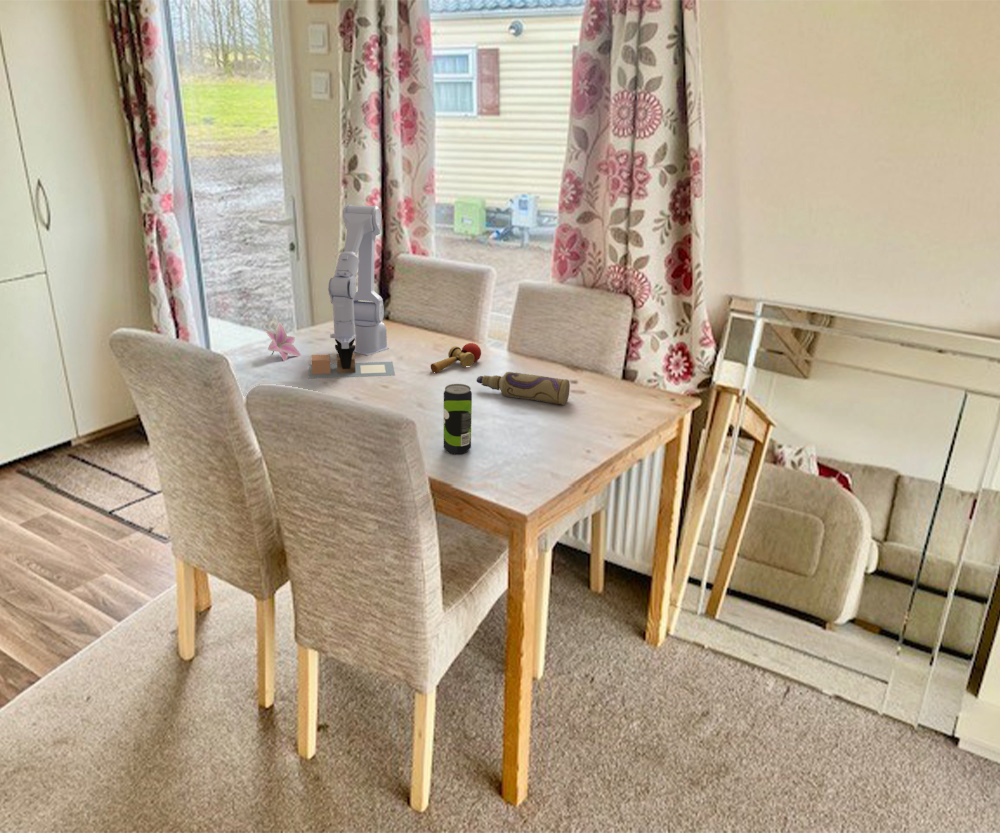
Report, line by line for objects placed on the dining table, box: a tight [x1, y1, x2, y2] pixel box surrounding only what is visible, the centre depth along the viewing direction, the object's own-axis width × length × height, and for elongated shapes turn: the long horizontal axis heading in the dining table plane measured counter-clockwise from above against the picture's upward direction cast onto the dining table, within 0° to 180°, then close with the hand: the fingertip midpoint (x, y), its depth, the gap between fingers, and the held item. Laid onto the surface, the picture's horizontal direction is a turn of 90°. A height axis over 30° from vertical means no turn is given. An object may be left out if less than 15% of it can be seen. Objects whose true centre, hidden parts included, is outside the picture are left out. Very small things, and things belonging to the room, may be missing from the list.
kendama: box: [430, 342, 482, 374], centre depth 230 cm, size 8×6×18 cm
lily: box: [264, 321, 301, 362], centre depth 232 cm, size 12×12×10 cm
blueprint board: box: [308, 361, 396, 380], centre depth 224 cm, size 24×12×1 cm, turn 101°
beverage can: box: [443, 383, 473, 455], centre depth 175 cm, size 6×6×15 cm
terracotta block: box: [310, 354, 331, 374], centre depth 222 cm, size 5×5×4 cm
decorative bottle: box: [476, 371, 571, 406], centre depth 209 cm, size 26×8×7 cm, turn 69°
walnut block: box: [336, 353, 356, 373], centre depth 223 cm, size 5×5×4 cm
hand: (346, 365), depth 224 cm, fingers closed on walnut block, 5 cm apart
